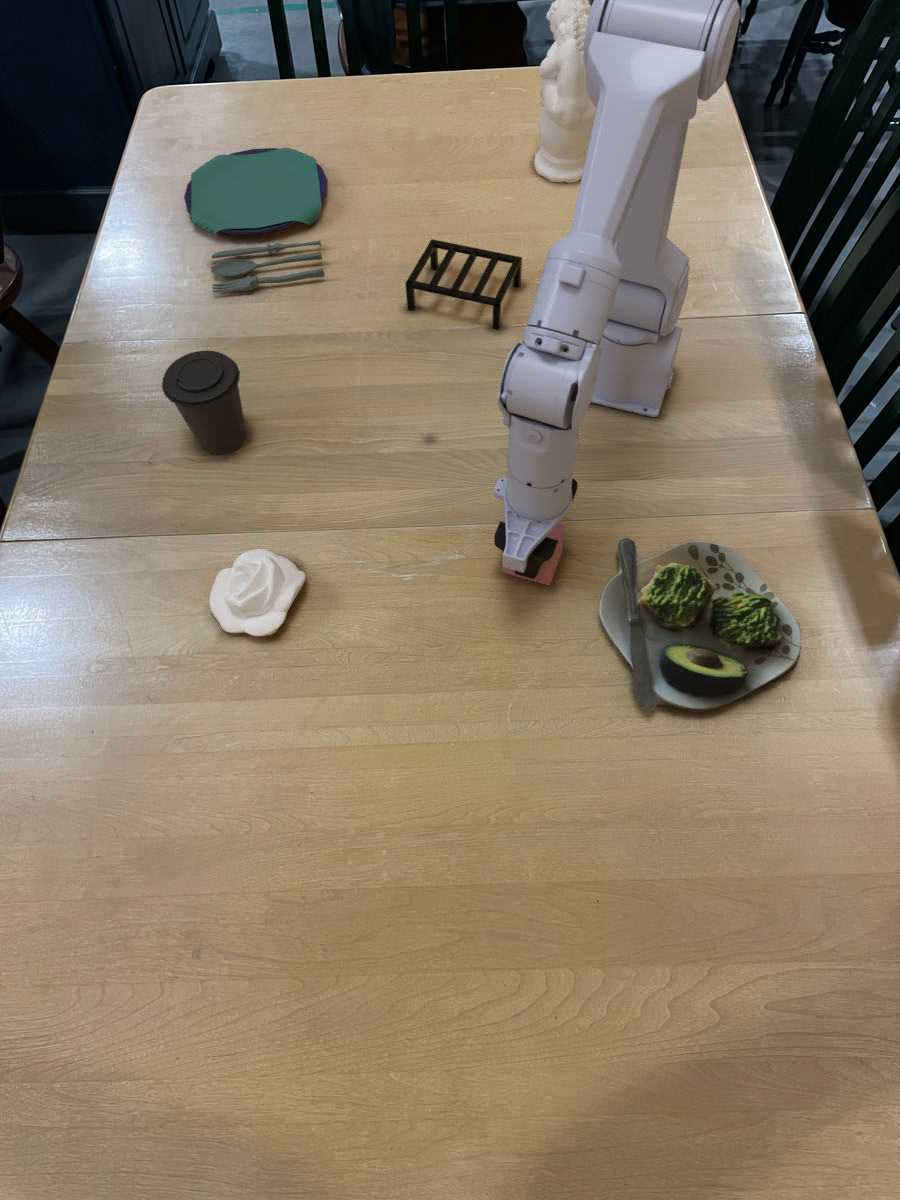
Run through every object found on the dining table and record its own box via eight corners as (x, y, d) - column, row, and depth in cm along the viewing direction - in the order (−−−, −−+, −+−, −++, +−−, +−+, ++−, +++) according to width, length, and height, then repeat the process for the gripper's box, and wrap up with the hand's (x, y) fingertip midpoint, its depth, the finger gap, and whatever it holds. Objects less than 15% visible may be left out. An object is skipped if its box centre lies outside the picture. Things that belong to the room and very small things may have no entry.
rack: (520, 284, 108) (522, 257, 105) (498, 330, 104) (499, 303, 100) (432, 266, 111) (431, 238, 107) (407, 310, 106) (405, 283, 103)
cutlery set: (324, 153, 125) (321, 137, 123) (341, 283, 109) (338, 267, 107) (188, 169, 124) (184, 153, 122) (186, 302, 108) (180, 287, 106)
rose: (316, 597, 79) (215, 635, 77) (323, 621, 83) (227, 658, 81) (284, 519, 84) (188, 553, 82) (292, 545, 87) (201, 578, 86)
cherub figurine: (537, 142, 125) (547, -31, 106) (622, 146, 124) (647, -28, 105) (529, 191, 118) (539, 16, 100) (619, 196, 117) (645, 20, 99)
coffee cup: (173, 453, 95) (142, 387, 86) (210, 404, 99) (184, 335, 90) (236, 473, 93) (211, 407, 84) (271, 421, 97) (251, 354, 88)
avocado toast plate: (549, 580, 84) (553, 553, 80) (700, 514, 88) (710, 485, 84) (658, 743, 75) (668, 722, 71) (821, 662, 78) (839, 637, 75)
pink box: (562, 551, 86) (565, 524, 82) (549, 586, 84) (553, 560, 80) (515, 538, 87) (516, 511, 83) (501, 572, 85) (502, 546, 81)
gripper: (522, 394, 77) (516, 489, 89) (469, 514, 70) (470, 601, 82) (597, 412, 76) (582, 506, 87) (551, 536, 69) (541, 621, 80)
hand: (533, 553), depth 84 cm, fingers closed on pink box, 4 cm apart
